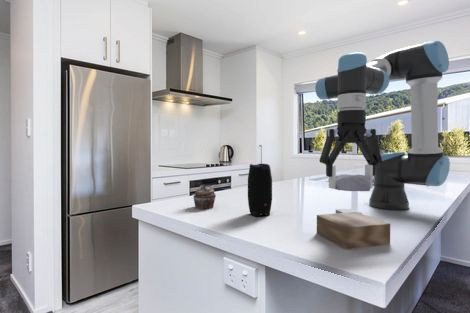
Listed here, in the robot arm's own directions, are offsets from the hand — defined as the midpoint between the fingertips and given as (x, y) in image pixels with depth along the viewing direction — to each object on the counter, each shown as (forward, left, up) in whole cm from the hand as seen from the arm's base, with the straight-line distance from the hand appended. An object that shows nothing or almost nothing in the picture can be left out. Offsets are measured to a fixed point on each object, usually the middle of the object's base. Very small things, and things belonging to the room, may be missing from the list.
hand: (350, 187), depth 83 cm
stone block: (0, -2, -1) cm, 2 cm away
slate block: (-6, -12, -15) cm, 20 cm away
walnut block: (0, 0, -15) cm, 15 cm away
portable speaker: (+20, -31, -15) cm, 40 cm away
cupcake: (+41, -47, -15) cm, 64 cm away
